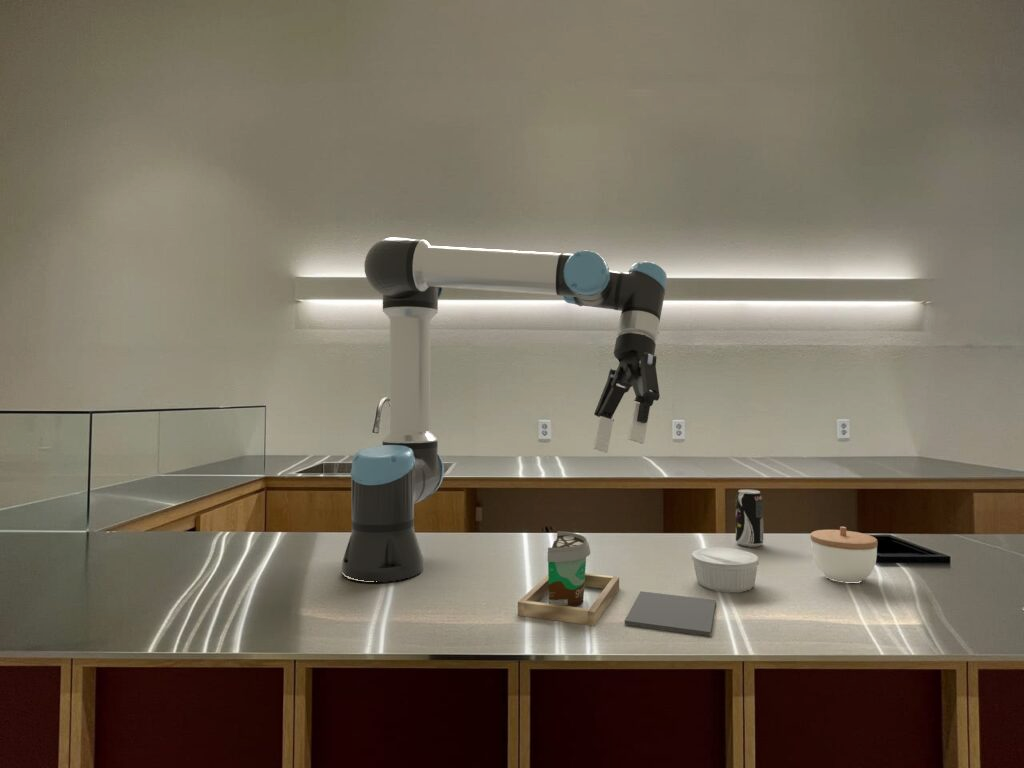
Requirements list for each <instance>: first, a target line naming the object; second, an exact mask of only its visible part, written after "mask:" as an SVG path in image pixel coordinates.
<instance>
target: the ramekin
mask: <svg viewBox="0 0 1024 768" xmlns="http://www.w3.org/2000/svg"><path fill="white" fill-rule="evenodd" d="M691 560H692V561H693V566H694V573H695V576H696V580H697V582H698V584H699V585H700V586H701V587H704V588H705V589H708V590H712V591H715V592H720V591H721V593H730V592H737V593H744V592H743V591H745V592H747V590H748V591H750V590H751V589H752V588H753V587H754V586H755V583H756V578H757V572H758V566H759V564H760V561H759V560H760V559H759V557H758V556H757V555H756V554H755V553H752V552H750V551H746V550H742V549H736V548H731V547H705V548H699V549H696V550H694V551H693V552H692V553H691Z"/></svg>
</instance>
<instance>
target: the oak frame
mask: <svg viewBox="0 0 1024 768" xmlns="http://www.w3.org/2000/svg"><path fill="white" fill-rule="evenodd" d="M584 587H589V588H594V589H595V588H597V589H602V591H601V593H600V594H599V595H598V597H597V598H596V599H595V601H594V602H593V604H592V605H591V606H590V607H589V608H585V607H580V606H578V607H571V606H564V605H556V604H549V602H540V601H541V599H543V597H545V595H546V594H548V593H549V582H548V574H546V576H544V577H543V578H542V579H541V580H539V581H538V583H536V585H534V587H533V588H531V589H530V590H529V591H528V592H527V593H526V594H524V596H523V597H522V598H520V599H519V600H518V601H517V616H521V617H528V618H538V619H545V620H550V621H556V622H557V621H558V622H559V621H560V622H564V623H565V622H566V623H571V624H578V625H579V624H580V625H584V626H585V625H586V626H593V627H594V626H596V624H597V623H598V621H599V620H600V618H601V617H602V615H603V614H604V613H605V611H606V609H607V608H608V606H609V605H610V603H611V601H612V600H613V599H614V597H615V595H616V594H617V593H618V591H619V590H620V576H614V575H603V574H597V573H596V574H594V573H587V572H585V584H584Z"/></svg>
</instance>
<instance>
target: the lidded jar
mask: <svg viewBox="0 0 1024 768" xmlns="http://www.w3.org/2000/svg"><path fill="white" fill-rule="evenodd" d="M810 540H811V545H810V547H811V554H812V558H813V561H814V564H815V566H816V567H817V569H818V570H819V571H820V572H821V573H822V574H823V575H824V577H825V576H826V577H828V578H830V579H834V580H837V581H843V582H859V581H862V580H863V581H864V580H866V579H867V578H868V577H869V576H870V575H871V574H872V572H873V571H874V569H875V566H876V563H877V557H878V553H877V552H878V543H879V542H878V539H877V538H876V537H875V536H872V535H870V534H867V533H862V532H858V531H851V530H847V527H846V526H839V529H817V530H814V531H812V532H811V533H810Z"/></svg>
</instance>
